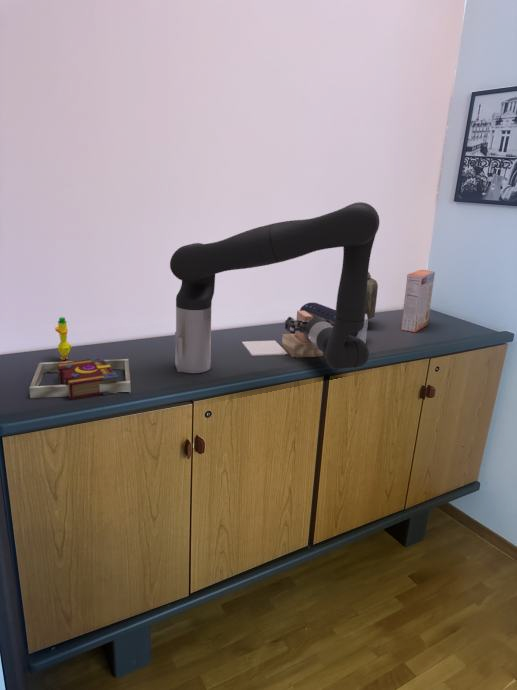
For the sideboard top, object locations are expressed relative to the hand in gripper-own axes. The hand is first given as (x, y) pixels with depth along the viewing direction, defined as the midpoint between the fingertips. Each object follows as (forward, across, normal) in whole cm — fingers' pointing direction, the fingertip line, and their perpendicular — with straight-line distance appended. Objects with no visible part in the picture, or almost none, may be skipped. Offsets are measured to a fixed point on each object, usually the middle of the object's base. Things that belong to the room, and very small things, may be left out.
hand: (302, 319), depth 155 cm
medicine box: (+6, -23, +10) cm, 26 cm away
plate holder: (-2, 0, +10) cm, 10 cm away
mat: (+2, +11, +10) cm, 15 cm away
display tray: (-18, +63, +10) cm, 66 cm away
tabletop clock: (+24, -32, +10) cm, 41 cm away
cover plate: (-2, 0, +10) cm, 10 cm away
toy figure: (0, +69, +10) cm, 70 cm away
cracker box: (+19, -52, +10) cm, 56 cm away
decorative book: (-20, +62, +10) cm, 66 cm away
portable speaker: (+12, -13, +10) cm, 21 cm away
